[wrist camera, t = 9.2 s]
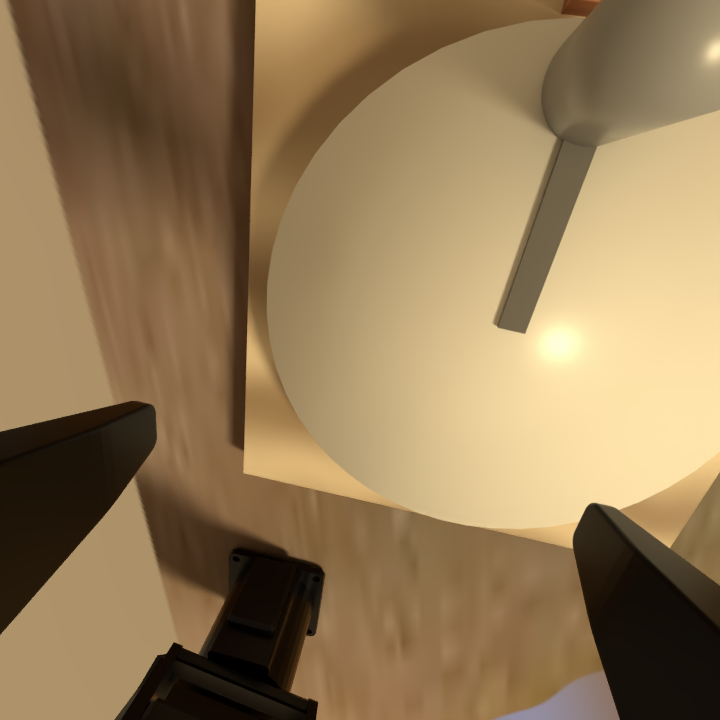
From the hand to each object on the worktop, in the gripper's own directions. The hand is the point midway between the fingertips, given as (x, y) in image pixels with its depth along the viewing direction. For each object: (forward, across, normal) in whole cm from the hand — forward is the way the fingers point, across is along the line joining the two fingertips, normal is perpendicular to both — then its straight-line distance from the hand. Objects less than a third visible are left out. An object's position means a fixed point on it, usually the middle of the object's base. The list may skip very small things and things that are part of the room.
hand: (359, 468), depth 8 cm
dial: (+10, -4, -1) cm, 11 cm away
